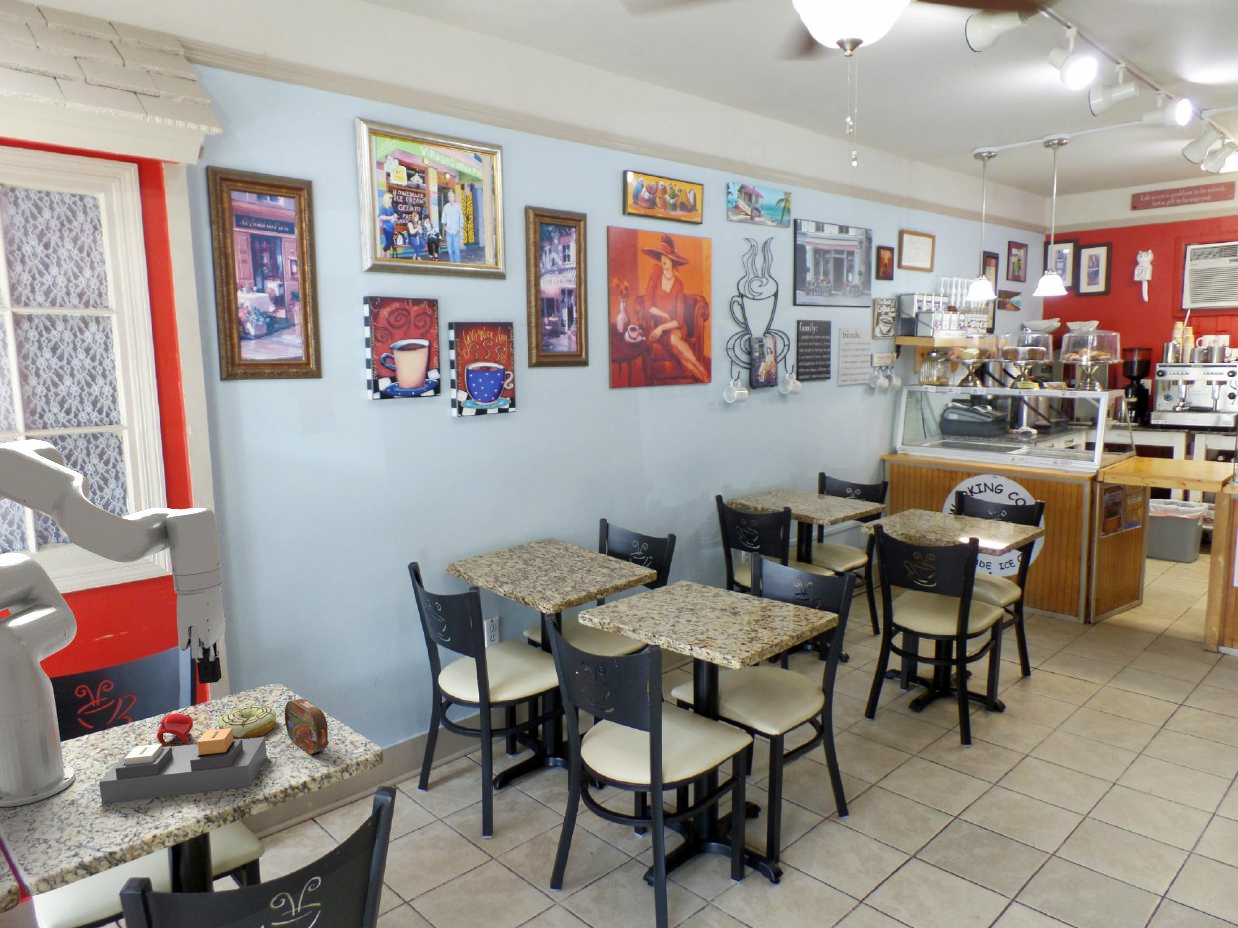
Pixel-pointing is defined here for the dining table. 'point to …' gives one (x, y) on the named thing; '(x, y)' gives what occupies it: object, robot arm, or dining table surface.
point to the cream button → (143, 754)
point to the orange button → (215, 741)
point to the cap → (175, 727)
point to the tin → (306, 726)
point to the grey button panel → (185, 772)
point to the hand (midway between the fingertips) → (210, 680)
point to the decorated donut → (249, 721)
